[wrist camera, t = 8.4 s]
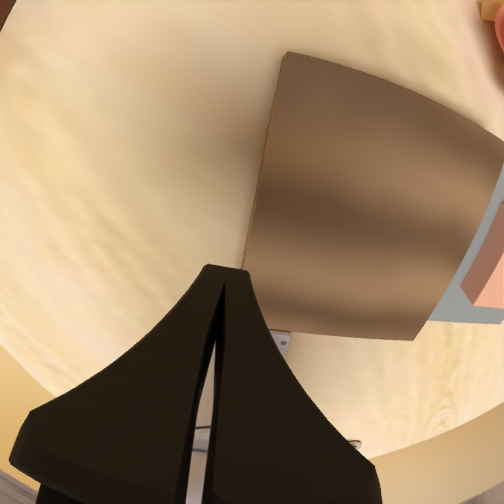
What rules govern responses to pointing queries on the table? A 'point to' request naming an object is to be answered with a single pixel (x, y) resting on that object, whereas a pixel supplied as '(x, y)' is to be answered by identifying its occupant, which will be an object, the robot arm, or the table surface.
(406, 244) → the step
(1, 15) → the letter holder
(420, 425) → the table surface
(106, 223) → the table surface
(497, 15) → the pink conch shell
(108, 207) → the table surface
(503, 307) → the tile
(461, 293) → the mat
